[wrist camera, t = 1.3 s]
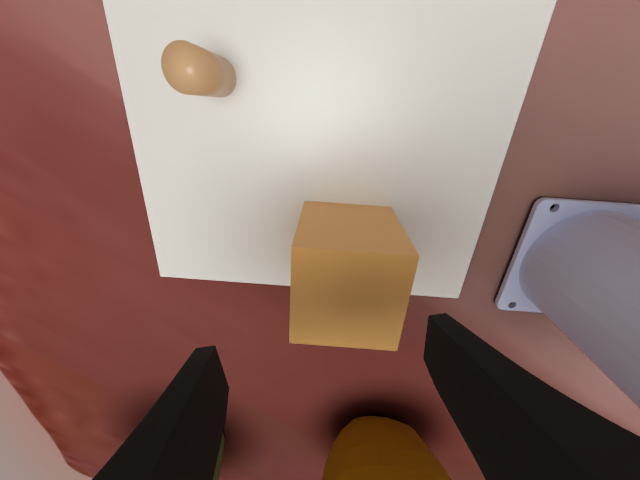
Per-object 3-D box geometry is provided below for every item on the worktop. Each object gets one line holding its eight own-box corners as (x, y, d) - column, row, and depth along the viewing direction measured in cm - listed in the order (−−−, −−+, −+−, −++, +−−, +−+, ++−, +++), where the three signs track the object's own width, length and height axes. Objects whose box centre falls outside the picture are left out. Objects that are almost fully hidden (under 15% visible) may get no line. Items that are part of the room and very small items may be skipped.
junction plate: (543, 0, 13) (639, -47, 9) (452, 289, 20) (483, 336, 16) (111, -27, 13) (13, -86, 9) (168, 268, 20) (126, 309, 16)
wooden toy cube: (390, 206, 16) (419, 256, 11) (378, 279, 19) (396, 351, 13) (304, 200, 17) (291, 246, 11) (301, 274, 19) (289, 343, 13)
